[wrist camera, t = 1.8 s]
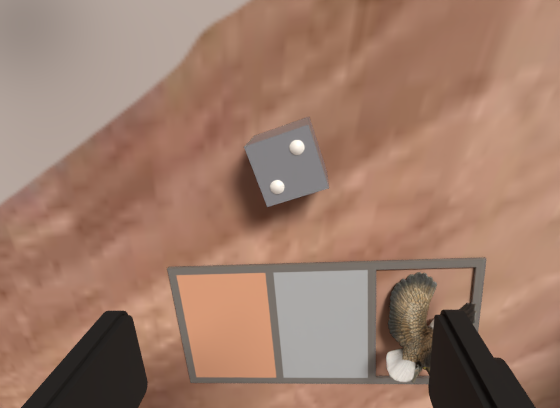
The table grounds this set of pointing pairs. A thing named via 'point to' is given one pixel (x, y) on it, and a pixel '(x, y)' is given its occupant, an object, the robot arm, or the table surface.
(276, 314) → the board
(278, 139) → the die
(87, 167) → the table surface
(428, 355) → the eagle figurine
